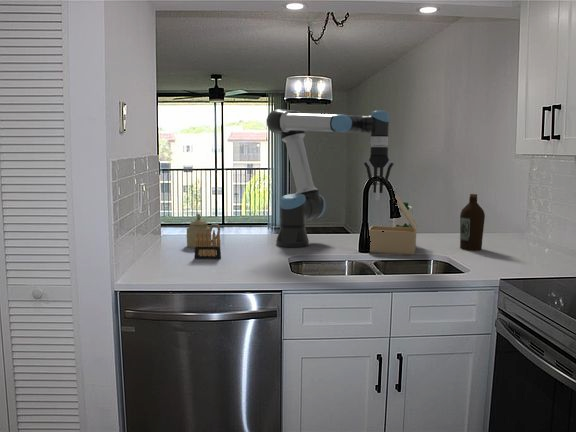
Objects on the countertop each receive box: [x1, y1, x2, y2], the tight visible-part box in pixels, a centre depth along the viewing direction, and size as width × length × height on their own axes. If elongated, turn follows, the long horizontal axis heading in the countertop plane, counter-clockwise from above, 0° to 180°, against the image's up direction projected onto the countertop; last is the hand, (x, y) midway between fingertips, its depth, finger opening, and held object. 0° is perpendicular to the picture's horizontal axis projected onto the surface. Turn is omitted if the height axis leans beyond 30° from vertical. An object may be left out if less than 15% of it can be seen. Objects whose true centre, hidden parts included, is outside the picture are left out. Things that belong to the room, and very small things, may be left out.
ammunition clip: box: [193, 229, 222, 260], centre depth 233 cm, size 11×2×12 cm, turn 90°
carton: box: [368, 225, 417, 256], centre depth 253 cm, size 20×13×10 cm, turn 75°
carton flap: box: [392, 188, 419, 232], centre depth 250 cm, size 20×14×1 cm
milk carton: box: [392, 201, 414, 228], centre depth 270 cm, size 9×9×20 cm
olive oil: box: [459, 193, 486, 252], centre depth 259 cm, size 11×11×25 cm
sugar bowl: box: [186, 213, 221, 249], centre depth 260 cm, size 15×11×15 cm
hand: (377, 200), depth 252 cm, fingers closed
